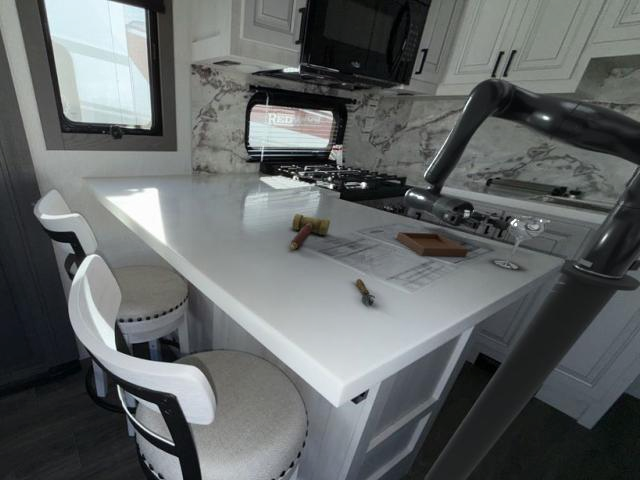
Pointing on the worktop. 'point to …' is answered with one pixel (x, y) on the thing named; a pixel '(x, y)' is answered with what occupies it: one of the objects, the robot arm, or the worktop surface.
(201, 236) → the worktop surface
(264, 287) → the worktop surface
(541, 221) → the wineglass
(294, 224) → the gavel
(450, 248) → the tray
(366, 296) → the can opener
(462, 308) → the worktop surface
